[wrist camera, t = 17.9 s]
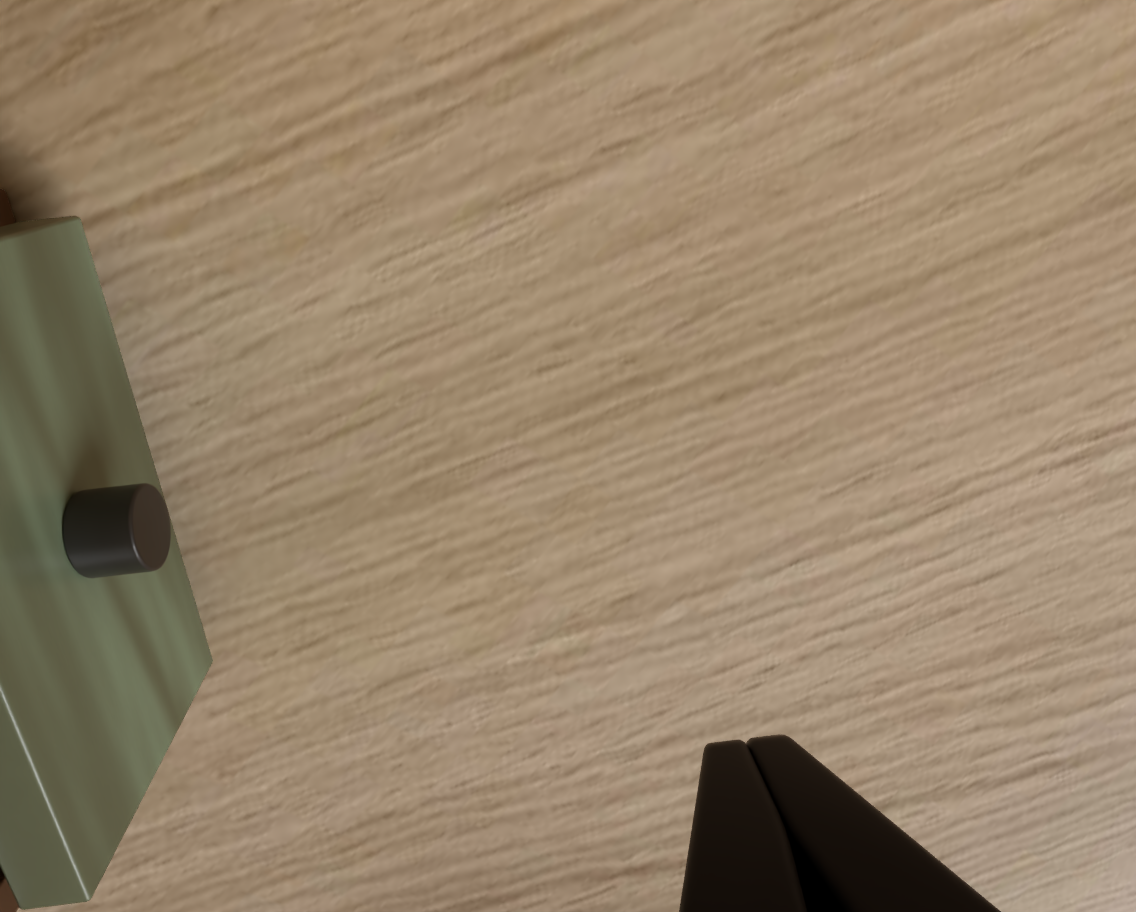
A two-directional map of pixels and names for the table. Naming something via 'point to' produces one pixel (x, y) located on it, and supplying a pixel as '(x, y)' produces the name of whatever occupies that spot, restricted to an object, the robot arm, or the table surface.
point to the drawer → (79, 578)
